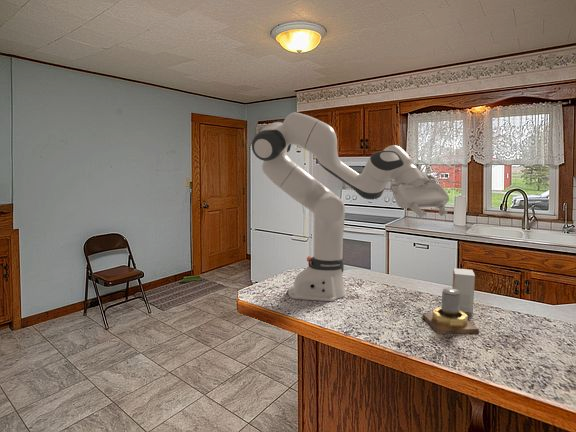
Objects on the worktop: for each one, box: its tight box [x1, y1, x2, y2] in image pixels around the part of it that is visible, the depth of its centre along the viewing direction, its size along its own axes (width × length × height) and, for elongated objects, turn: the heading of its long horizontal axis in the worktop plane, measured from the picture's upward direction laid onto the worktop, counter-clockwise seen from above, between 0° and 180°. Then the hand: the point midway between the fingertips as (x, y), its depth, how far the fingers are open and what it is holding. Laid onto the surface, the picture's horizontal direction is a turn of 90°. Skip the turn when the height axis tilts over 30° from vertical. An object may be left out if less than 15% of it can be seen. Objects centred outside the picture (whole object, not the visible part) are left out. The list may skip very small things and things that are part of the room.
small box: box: [451, 267, 476, 314], centre depth 125 cm, size 8×6×13 cm
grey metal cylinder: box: [440, 287, 460, 318], centre depth 111 cm, size 5×5×10 cm
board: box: [422, 313, 480, 334], centre depth 112 cm, size 12×12×1 cm
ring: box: [431, 307, 468, 327], centre depth 111 cm, size 9×9×2 cm
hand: (434, 215), depth 114 cm, fingers open, 8 cm apart
